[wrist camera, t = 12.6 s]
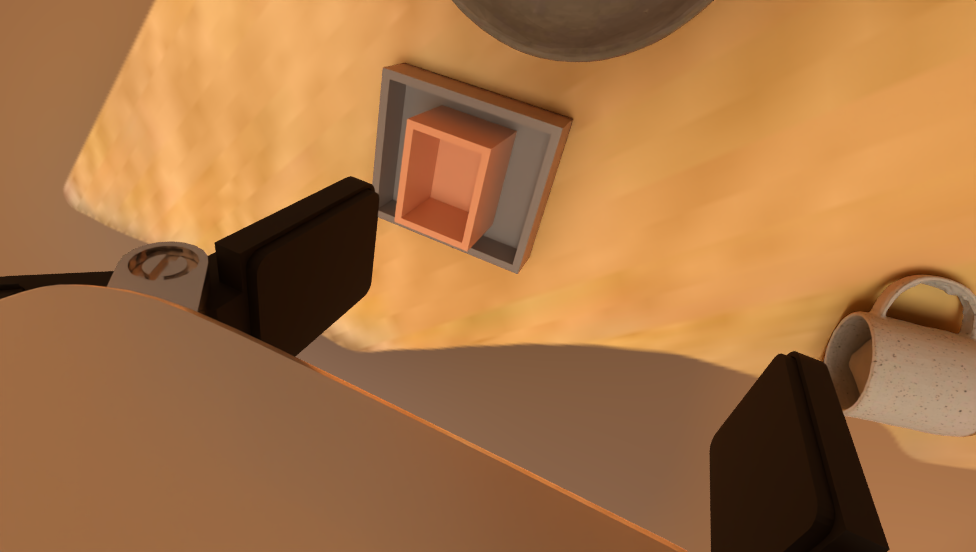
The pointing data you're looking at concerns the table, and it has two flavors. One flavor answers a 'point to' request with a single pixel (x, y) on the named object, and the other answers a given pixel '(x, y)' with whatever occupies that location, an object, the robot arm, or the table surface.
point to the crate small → (452, 175)
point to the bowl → (580, 25)
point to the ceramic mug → (907, 365)
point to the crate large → (527, 168)
